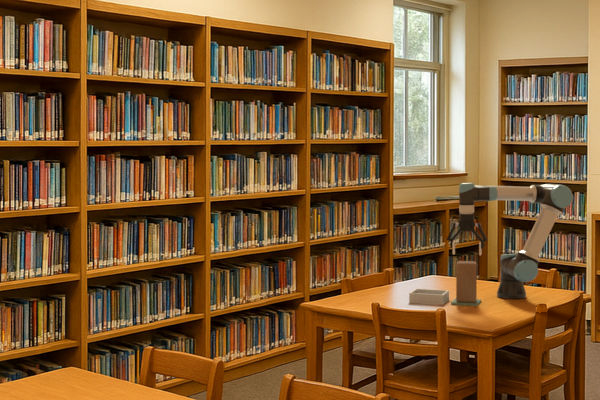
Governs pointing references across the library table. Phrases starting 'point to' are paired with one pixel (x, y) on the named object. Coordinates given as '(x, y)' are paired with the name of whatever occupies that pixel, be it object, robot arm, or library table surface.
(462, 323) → the library table surface
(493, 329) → the library table surface
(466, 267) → the block
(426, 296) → the bin
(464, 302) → the mat
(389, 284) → the library table surface
